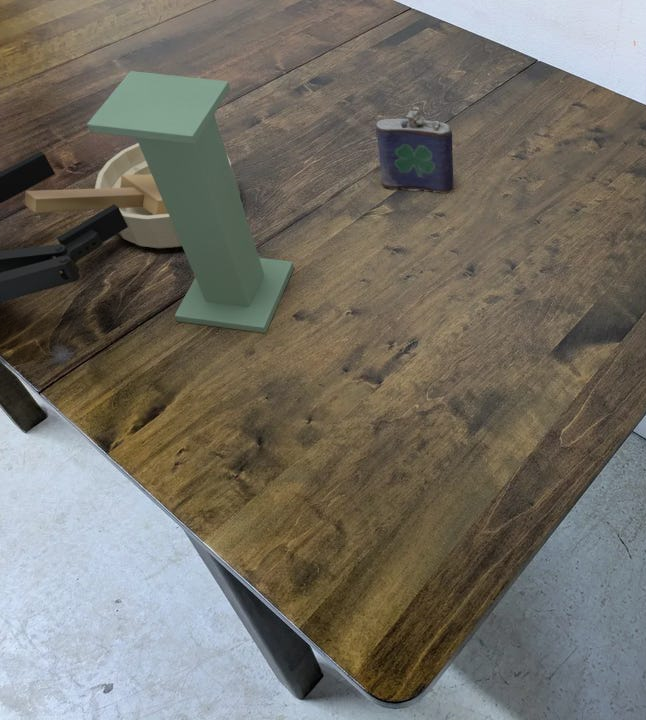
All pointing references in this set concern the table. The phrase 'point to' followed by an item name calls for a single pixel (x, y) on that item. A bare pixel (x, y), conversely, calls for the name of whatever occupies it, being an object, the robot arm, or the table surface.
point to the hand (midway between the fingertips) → (83, 188)
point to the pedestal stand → (198, 196)
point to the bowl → (138, 219)
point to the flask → (415, 153)
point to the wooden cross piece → (100, 197)
